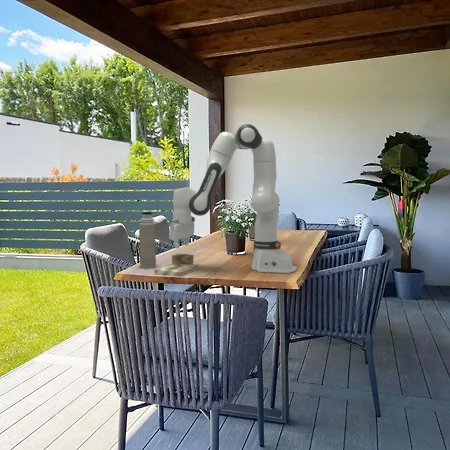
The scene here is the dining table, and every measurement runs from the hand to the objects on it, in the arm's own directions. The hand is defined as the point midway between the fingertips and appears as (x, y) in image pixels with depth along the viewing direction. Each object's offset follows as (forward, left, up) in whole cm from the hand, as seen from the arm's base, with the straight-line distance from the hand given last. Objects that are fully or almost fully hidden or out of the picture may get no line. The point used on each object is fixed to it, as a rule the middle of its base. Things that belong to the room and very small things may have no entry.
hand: (181, 246), depth 224 cm
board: (-1, +6, -11) cm, 13 cm away
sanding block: (-1, 0, -9) cm, 9 cm away
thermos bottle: (+18, +2, -11) cm, 22 cm away
